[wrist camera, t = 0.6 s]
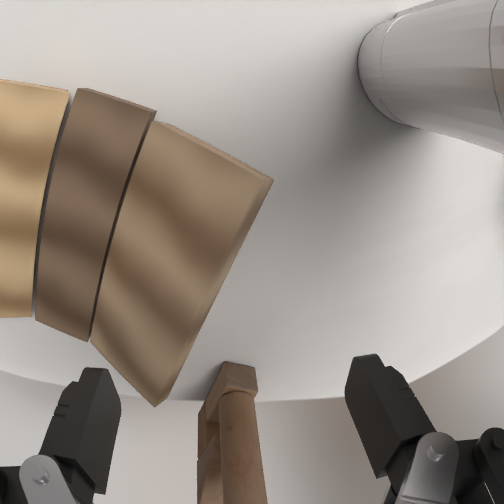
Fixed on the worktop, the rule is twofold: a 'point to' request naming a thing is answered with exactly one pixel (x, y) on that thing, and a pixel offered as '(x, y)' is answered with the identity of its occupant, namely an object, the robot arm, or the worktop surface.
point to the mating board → (86, 206)
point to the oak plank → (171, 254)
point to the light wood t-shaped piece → (230, 441)
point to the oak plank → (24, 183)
